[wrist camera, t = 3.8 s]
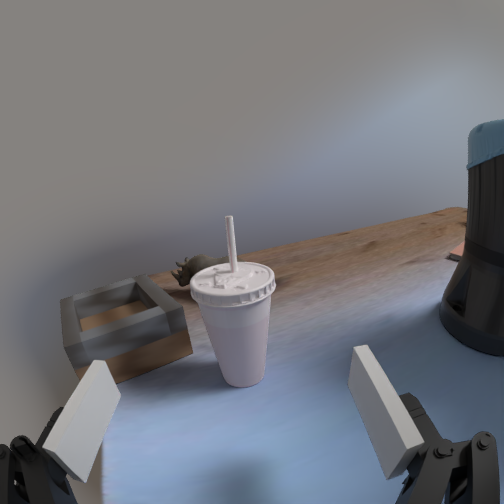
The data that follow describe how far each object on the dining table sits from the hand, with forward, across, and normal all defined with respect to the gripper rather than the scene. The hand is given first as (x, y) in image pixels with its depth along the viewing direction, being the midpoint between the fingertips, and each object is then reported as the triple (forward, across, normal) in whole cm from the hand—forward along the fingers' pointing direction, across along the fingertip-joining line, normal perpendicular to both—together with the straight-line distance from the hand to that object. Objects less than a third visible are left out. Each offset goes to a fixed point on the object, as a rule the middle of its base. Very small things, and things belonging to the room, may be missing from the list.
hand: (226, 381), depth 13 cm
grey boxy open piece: (+14, -13, -7) cm, 20 cm away
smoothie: (+9, 0, -8) cm, 12 cm away
